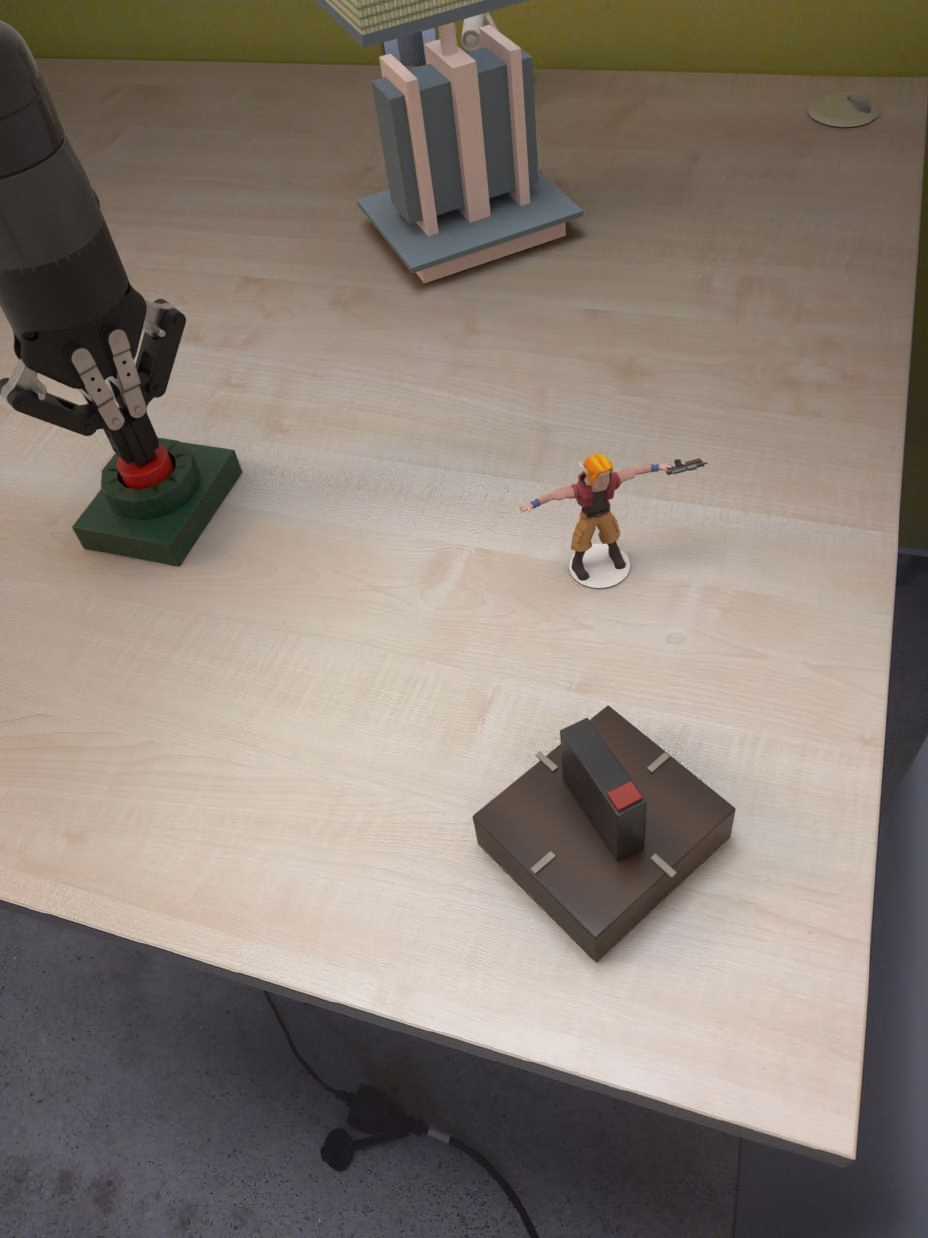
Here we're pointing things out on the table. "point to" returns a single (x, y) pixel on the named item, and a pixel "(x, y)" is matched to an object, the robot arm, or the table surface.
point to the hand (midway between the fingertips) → (141, 457)
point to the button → (146, 470)
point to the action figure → (601, 518)
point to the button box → (159, 505)
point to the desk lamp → (455, 140)
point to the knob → (603, 789)
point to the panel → (578, 856)
